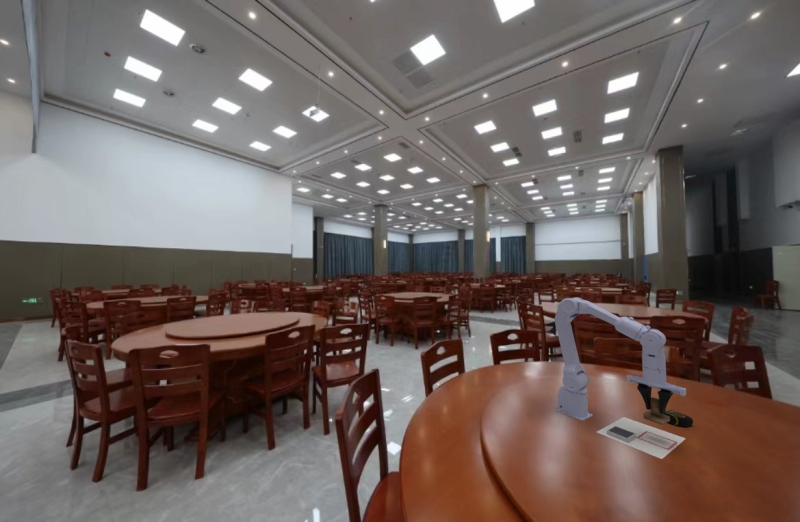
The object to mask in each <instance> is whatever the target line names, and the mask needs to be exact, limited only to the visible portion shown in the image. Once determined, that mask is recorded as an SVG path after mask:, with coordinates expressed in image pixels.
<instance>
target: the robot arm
mask: <svg viewBox="0 0 800 522" xmlns="http://www.w3.org/2000/svg"><path fill="white" fill-rule="evenodd" d="M581 314H583V315H587V314H588V315H591V316H594V317H596V318H598V319H600V320H602V321H605V322H606V323H608V324H611V325H613V326H614V329H615V331H617V332H619V333H621V334H622V335H625V336H626V337H628V338H630V339H633V340H634V341H637V342H639V343H640V345H641V346H642V349H641V350H642V352H641V358H642V359H641V360H642V361H641V362H642V376H636V375H631V374H628V375H626V382H627V383H634V384H638V386H637V388H636V389H637V390H638V392H639V393H640V395H641V397H642V399H643V401H644V404H645V409H646V410H648V411H650V398H652V390H653V389H657V390H658V391H657V395H658V399H659V402H660V414H664V413H665V411H666V409H667V406H668V403H669V401H670V399H671V398H672V396H673V395H674V394H677V395H680V396H682V397H686V395H687V388H685V387H682V386H678V385H675V384H671V383H669V382H667V366H666V365H667V364H666V362H667V361H666V354H665V352H666V350H665V344H666V343H667V338H666V335H665V334H664V333H663V332H661V331H660V330H659V329H657V328H651V326H650V325H644V324H643V323H640V322H638V321H636V320H635V317H634V318H633V317H632V316H628V317H627V316H621V317H619V316H617V315H616V314H613V313H611V312H610V311H608V310H606V309H605V308H602V307H601V306H599V305H597V304H595V303H593V302H591V301H589V300H586V299H583V298H581V297H577V296H576V297H566V298H564V299H562V300H561V301H560V302H559V303H558V304H557V310H556V313H555V317H554V323H555V327H556V332H557V336H558V341H559V344H560V345H559V346H560V349H561V350H560V351H561V354H562V359H563V362H564V366H563V369H562V373H563V374H562V375H563V377H562V381H561V382H562V385H561V386H560V387H559V389H558V391H557V409H556V411H557V412H559V413H561V414H564V415H567V416H569V417H571V418H574V419H576V420H579V421H586V420H587V419H589V418H591V417H594V414H592V413H590V412H589V410H588V409H589V408H588V406H589V405H588V404H589V403H588V390H587V386H588V385H590V384H589V383H590V378H589V376H588V375H587V373H586V371H585V368H584V366H583V365H582V364H581V362H580V358H579V353H578V349H577V345H576V341H575V337H574V332H573V327H572V324H571V323H572V321H573V320H574V319H575V318H576V317H577V316H579V315H581Z"/></svg>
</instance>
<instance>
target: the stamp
mask: <svg viewBox="0 0 800 522" xmlns="http://www.w3.org/2000/svg"><path fill="white" fill-rule="evenodd" d="M642 417H643V418H644V419H645V420H648V421H649V422H653V423H655V424H656V423H657V424H658V425H662V426H663V425H665V424H667V423H669V421H670V417H669V416H666V415H663V414H660V402H659V397H658V398H657V397H651V398H650V410H648V411H646V412H643V413H642Z"/></svg>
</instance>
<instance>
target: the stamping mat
mask: <svg viewBox="0 0 800 522" xmlns="http://www.w3.org/2000/svg"><path fill="white" fill-rule="evenodd" d="M596 434H598V435H602V436H605V437H607V438H609V439H612V440H614V441H616V442H619V443H621V444H624V445H626V446H629V447H631V448H634V449H636V450H639V451H641V452H644V453H646V454H648V455H650V456H653V457H655V458H658V459H660V460H662V459H664V458H665V457H667V455H668V454H670V453H671V452H672V451H674V450H675V449H676V448H677V447H678V446H679V445H681V443H683V442H684V441H685V440H686V439H687V438H685V437H683V436H681V435H680V436H679V435H677V434H675V433H671V432H668V431H666V430H663V429H659V428H657V427H654V426H650V425H649V424H645V423H642V422H640V421H636V420H634V419H631V418H627V417H625V416H623V417H621V418H619V419H617V420H616V421H614V422H611V423H610V424H608V425H606V426H605V427H603V428H601V429H599V430H597V431H596Z"/></svg>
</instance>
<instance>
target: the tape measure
mask: <svg viewBox="0 0 800 522" xmlns="http://www.w3.org/2000/svg"><path fill="white" fill-rule="evenodd" d="M663 415H666V416H669V417H670V421H669V422H668V423H669V424H670V425H673V426H674V425H675V426H677V427H681V428H682V427H683V428H688V427H689V426H692V425H693V424H694V419H693V418H692V417H691V416H688V415H687V414H684V413H681V412H678V411H675V410H672V409H668V410H665V413H664V414H663Z"/></svg>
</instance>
